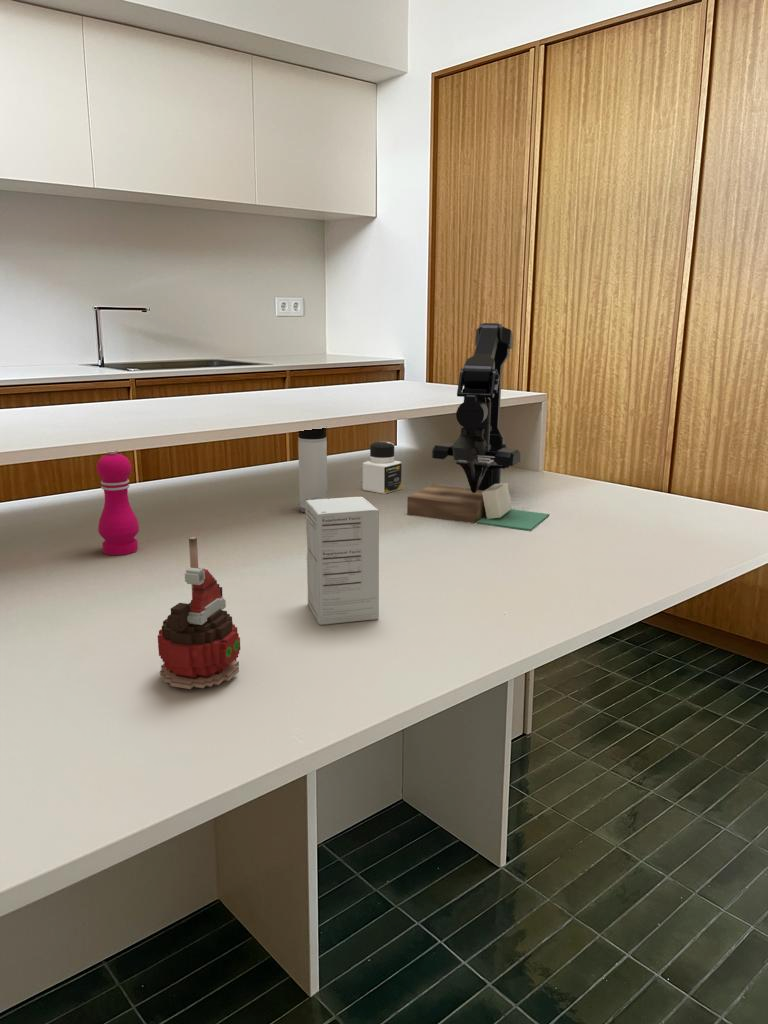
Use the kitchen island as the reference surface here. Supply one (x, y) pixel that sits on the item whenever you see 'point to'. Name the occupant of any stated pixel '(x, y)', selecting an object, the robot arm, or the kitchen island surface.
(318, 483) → the travel mug
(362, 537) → the supplement box
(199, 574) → the cake
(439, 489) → the deck
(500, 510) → the block
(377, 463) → the medicine bottle
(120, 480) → the pepper mill
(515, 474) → the kitchen island surface
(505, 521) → the mat
